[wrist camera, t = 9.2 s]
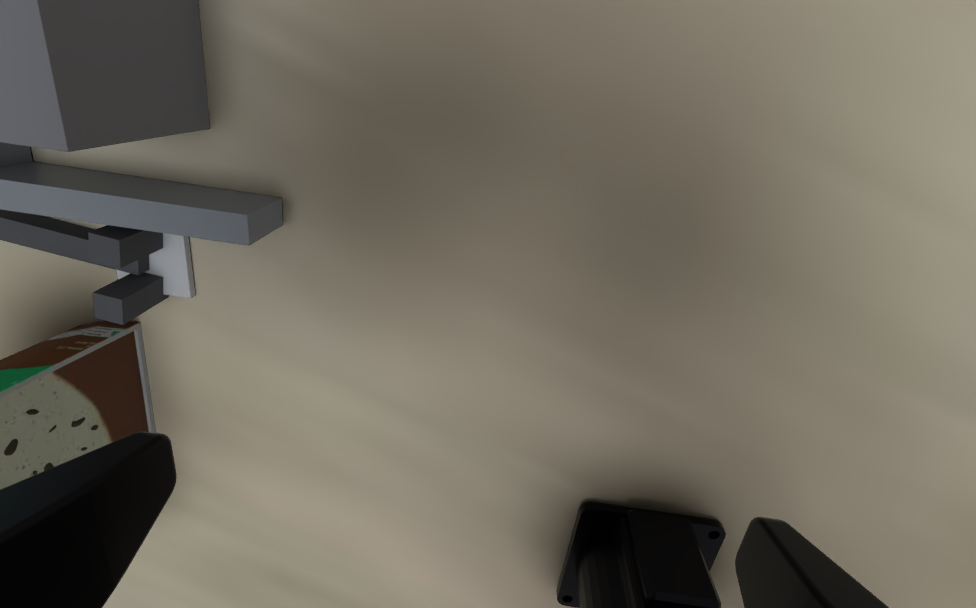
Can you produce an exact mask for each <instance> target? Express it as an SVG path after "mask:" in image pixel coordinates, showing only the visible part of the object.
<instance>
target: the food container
mask: <svg viewBox="0 0 976 608" xmlns="http://www.w3.org/2000/svg"><path fill="white" fill-rule="evenodd" d="M144 431H145V432H152V433H156V431H155V424H154V417H153V410H152V402H151V395H150V388H149V381H148V374H147V367H146V360H145V353H144V346H143V339H142V332H141V325H140V322H132V321H129V322H127V323H126V324H124V325H121V324H117V323H113V322H109V321H102V322H97V323H91V324H86V325H80V326H78V327H75V328H73V329H71V330H68V331H66V332H64V333H62V334H59V335H57V336H55V337H52V338H50V339H48V340H46V341H43V342H41V343H39V344H36V345H34V346H32V347H29V348H27V349H25V350H23V351H20V352H18V353H16V354H13V355H11V356H9V357H6V358H4V359H2V360H0V489H3V488H5V487H8V486H10V485H12V484H15V483H17V482H19V481H22V480H24V479H27V478H29V477H31V476H34V475H36V474H38V473H41V472H43V471H46V470H48V469H50V468H53V467H55V466H57V465H60V464H62V463H65V462H67V461H69V460H72V459H74V458H76V457H79V456H81V455H84V454H86V453H88V452H91V451H93V450H95V449H98V448H100V447H103V446H105V445H107V444H110V443H112V442H114V441H117V440H119V439H122V438H124V437H126V436H129V435H131V434H133V433H136V432H144Z"/></svg>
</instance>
